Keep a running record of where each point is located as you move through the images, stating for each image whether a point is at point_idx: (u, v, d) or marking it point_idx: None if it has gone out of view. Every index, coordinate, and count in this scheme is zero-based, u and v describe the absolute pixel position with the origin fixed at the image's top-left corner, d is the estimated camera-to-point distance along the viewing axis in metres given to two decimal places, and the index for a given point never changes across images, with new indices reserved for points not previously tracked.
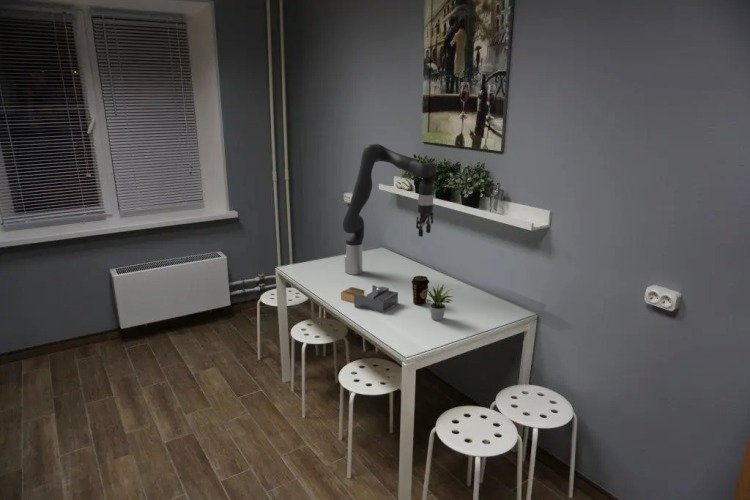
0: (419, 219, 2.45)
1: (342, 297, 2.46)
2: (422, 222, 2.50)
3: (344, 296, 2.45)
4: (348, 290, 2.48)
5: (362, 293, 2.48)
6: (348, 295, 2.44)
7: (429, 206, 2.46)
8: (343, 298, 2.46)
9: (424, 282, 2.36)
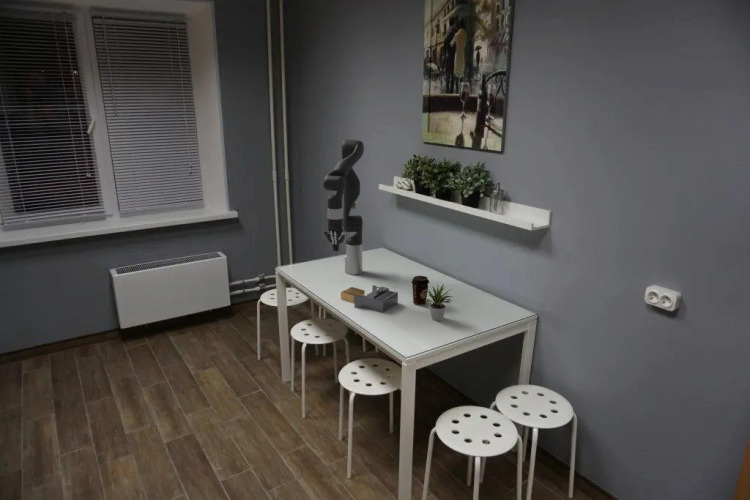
0: (345, 237, 2.42)
1: (342, 297, 2.46)
2: (339, 236, 2.44)
3: (344, 296, 2.45)
4: (348, 290, 2.49)
5: (362, 293, 2.48)
6: (348, 295, 2.44)
7: None
8: (343, 298, 2.46)
9: (424, 282, 2.36)
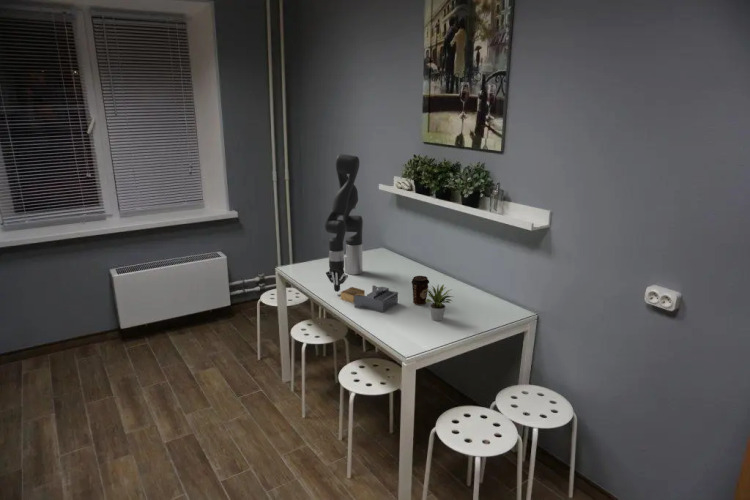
0: (346, 278, 2.48)
1: (342, 297, 2.46)
2: (340, 277, 2.49)
3: (344, 296, 2.45)
4: (348, 290, 2.49)
5: (362, 293, 2.48)
6: (348, 295, 2.44)
7: None
8: (343, 298, 2.46)
9: (424, 282, 2.36)
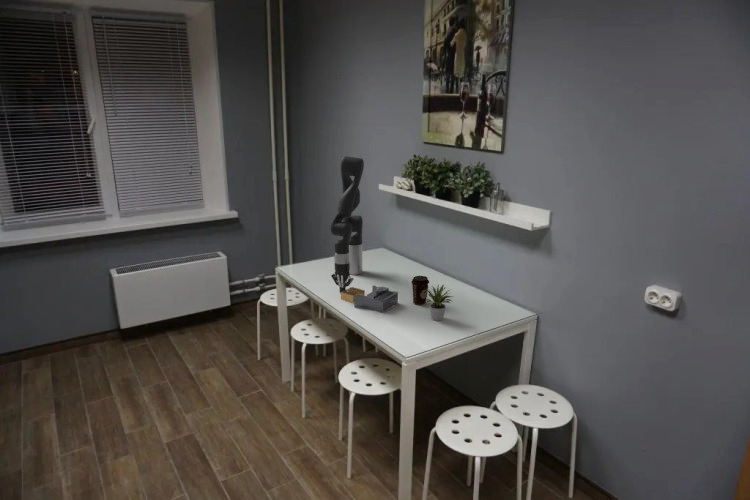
0: (352, 280, 2.46)
1: (342, 297, 2.46)
2: (346, 279, 2.48)
3: (344, 296, 2.45)
4: (348, 290, 2.49)
5: (362, 293, 2.48)
6: (348, 295, 2.44)
7: None
8: (343, 298, 2.46)
9: (424, 282, 2.36)
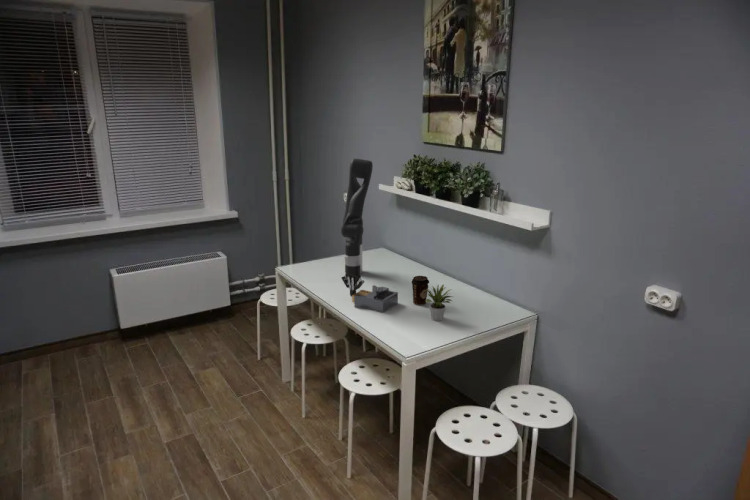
0: (362, 283, 2.42)
1: (353, 300, 2.43)
2: (356, 282, 2.44)
3: None
4: (359, 293, 2.45)
5: None
6: None
7: None
8: None
9: (424, 282, 2.36)
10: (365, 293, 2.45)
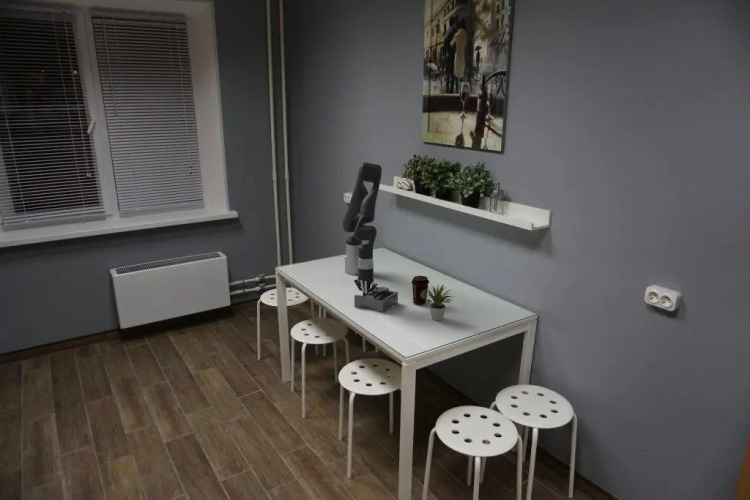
0: (376, 286, 2.39)
1: None
2: (370, 285, 2.40)
3: None
4: None
5: None
6: None
7: None
8: None
9: (424, 282, 2.36)
10: (378, 296, 2.41)
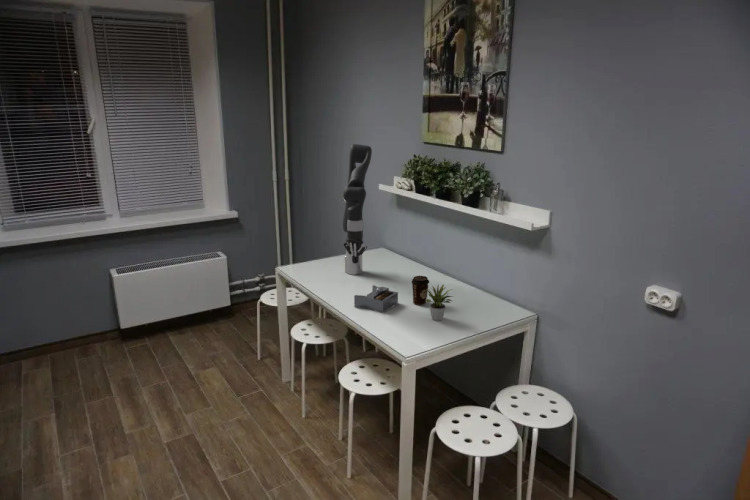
0: (365, 249, 2.37)
1: None
2: (359, 248, 2.38)
3: None
4: None
5: None
6: None
7: None
8: None
9: (424, 282, 2.36)
10: (378, 296, 2.41)
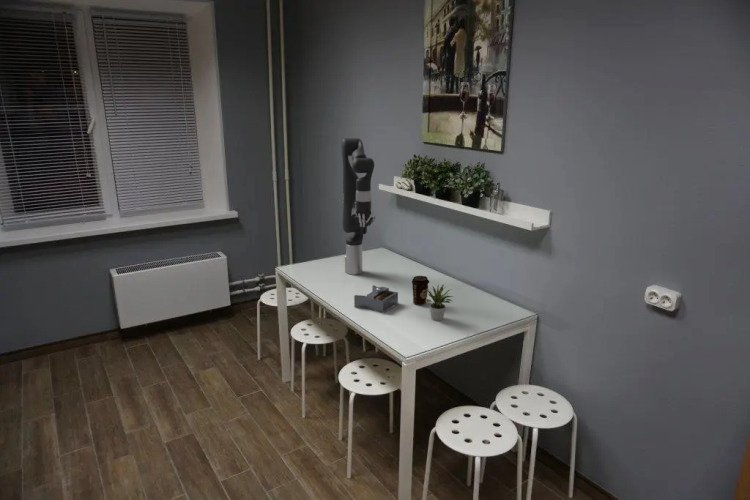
0: (373, 219, 2.43)
1: None
2: (367, 219, 2.44)
3: None
4: None
5: None
6: None
7: None
8: None
9: (424, 282, 2.36)
10: (378, 296, 2.41)
